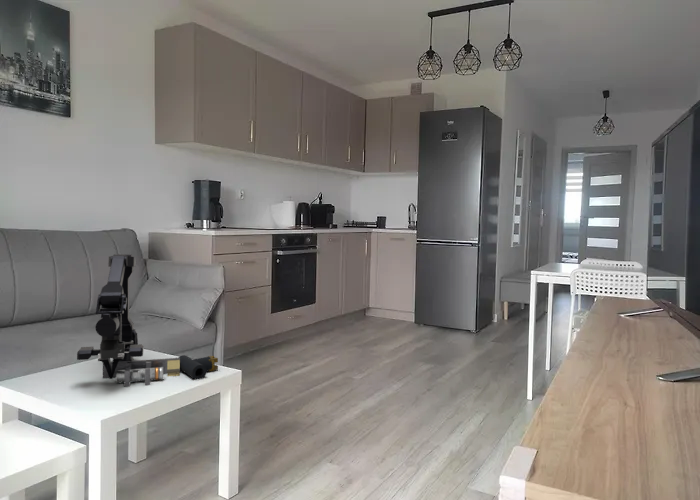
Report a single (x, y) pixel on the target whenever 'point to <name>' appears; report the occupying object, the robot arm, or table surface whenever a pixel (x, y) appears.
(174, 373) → the gray rectangular bar
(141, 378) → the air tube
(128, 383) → the twin upright pegs
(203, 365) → the pipe connector
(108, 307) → the robot arm
